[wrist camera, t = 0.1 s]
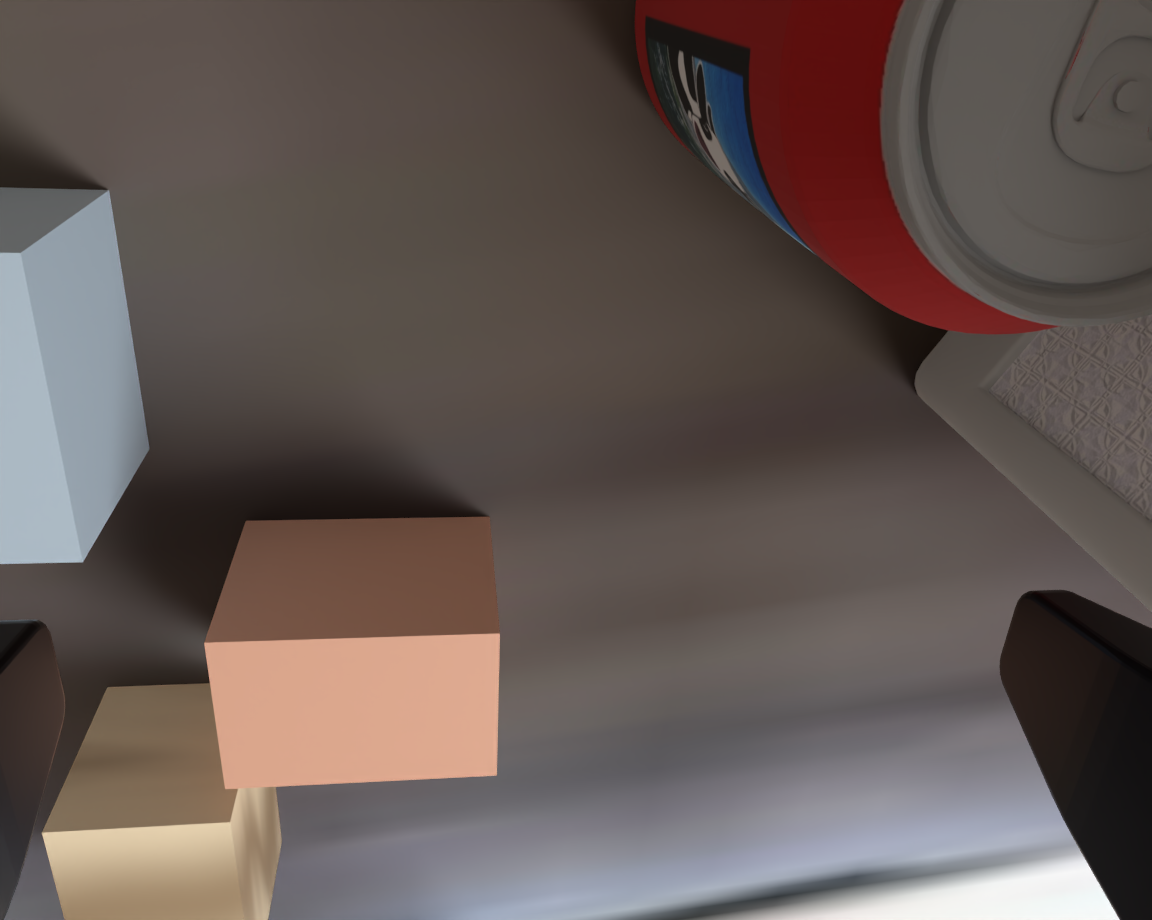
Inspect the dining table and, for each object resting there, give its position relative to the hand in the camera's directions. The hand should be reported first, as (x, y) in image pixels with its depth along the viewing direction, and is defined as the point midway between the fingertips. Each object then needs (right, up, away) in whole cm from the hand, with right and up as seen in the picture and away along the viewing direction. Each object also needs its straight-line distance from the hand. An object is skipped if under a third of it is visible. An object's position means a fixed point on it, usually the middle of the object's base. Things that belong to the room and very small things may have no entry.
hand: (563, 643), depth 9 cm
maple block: (-10, -7, +19) cm, 23 cm away
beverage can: (+4, +11, +12) cm, 17 cm away
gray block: (-12, +5, +13) cm, 18 cm away
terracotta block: (-5, -2, +17) cm, 18 cm away
